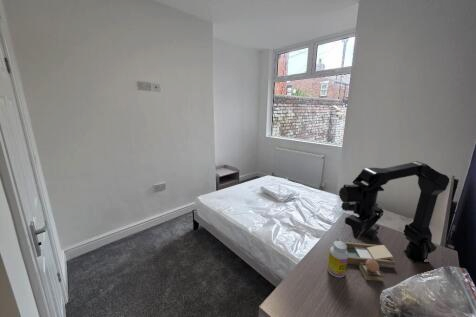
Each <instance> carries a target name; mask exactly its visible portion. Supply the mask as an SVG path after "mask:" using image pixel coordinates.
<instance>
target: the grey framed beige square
mask: <svg viewBox="0 0 476 317" xmlns="http://www.w3.org/2000/svg"><path fill="white" fill-rule="evenodd" d="M358 268H359V270H360V272H361V274H362V275H363V277H364V279H365V280H367V281H375V282H384V274H383V273H382V271H381V270H380V269H379V270H378V271H376V272H372V271H370V270H368V269H367V267H366V263H360V265H358Z"/></svg>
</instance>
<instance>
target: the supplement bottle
mask: <svg viewBox="0 0 476 317" xmlns="http://www.w3.org/2000/svg"><path fill="white" fill-rule="evenodd" d="M343 242H344V241H342V240H341V241H337V240H335V241H334V242H333V244H332V245H331V247H330V248H329V253H328V261H327V268H326V269H327V271H328V273H330V275H332V276H333V277H335V278H343V277H344V276H346V272H347V266H348V263H347V262H348V256H349V255H348V252H347V245H346V244H345V243H343Z"/></svg>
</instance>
